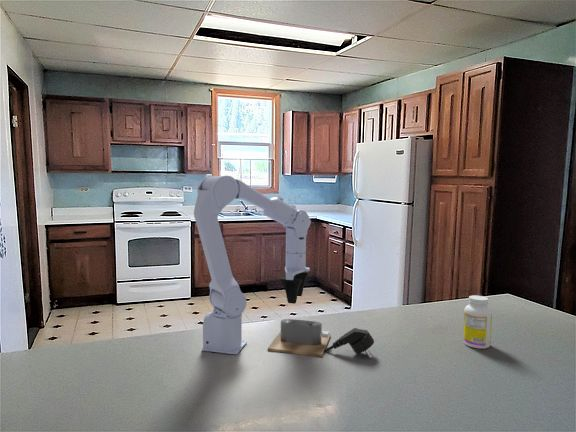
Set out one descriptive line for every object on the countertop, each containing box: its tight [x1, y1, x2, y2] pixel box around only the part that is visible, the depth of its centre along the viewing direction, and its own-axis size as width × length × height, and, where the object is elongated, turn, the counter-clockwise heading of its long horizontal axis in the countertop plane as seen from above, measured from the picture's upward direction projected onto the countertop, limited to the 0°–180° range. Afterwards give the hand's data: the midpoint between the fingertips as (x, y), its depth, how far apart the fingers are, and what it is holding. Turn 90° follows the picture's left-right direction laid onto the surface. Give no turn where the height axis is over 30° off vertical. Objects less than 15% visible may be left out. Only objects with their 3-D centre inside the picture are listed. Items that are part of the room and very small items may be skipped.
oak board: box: [267, 330, 331, 358], centre depth 109 cm, size 14×14×1 cm
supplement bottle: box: [462, 294, 493, 350], centre depth 109 cm, size 7×7×13 cm
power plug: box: [324, 327, 375, 359], centre depth 103 cm, size 6×8×12 cm
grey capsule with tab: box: [280, 318, 330, 345], centre depth 109 cm, size 13×4×5 cm, turn 76°
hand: (295, 299), depth 117 cm, fingers open, 7 cm apart
